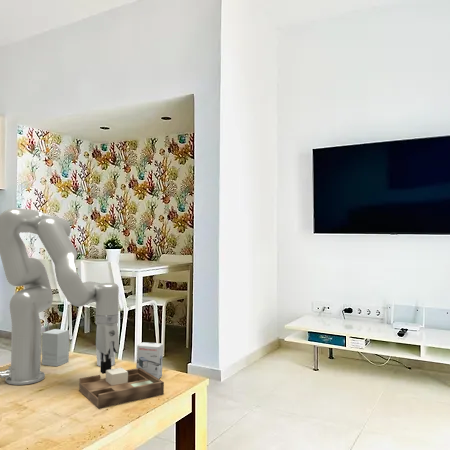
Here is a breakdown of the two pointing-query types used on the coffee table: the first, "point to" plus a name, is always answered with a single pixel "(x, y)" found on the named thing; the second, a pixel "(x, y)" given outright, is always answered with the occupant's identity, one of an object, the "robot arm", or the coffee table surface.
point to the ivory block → (116, 376)
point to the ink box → (150, 358)
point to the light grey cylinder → (100, 360)
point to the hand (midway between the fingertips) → (105, 372)
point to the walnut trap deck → (121, 388)
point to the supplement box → (55, 347)
